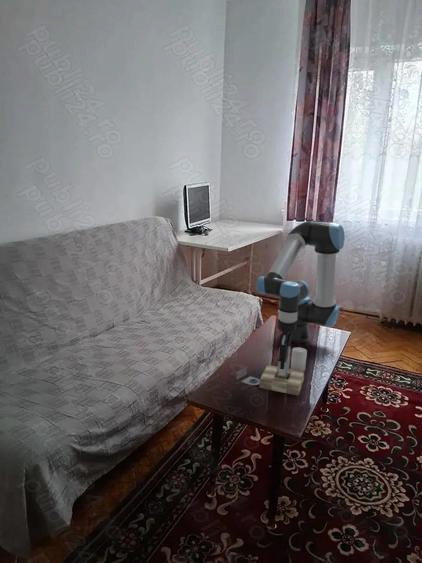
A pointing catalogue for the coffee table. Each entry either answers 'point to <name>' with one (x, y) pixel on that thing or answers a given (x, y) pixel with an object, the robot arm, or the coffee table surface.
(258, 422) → the coffee table surface
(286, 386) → the socket block
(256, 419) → the coffee table surface
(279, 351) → the grey long block
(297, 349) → the plastic dowel
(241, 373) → the bracket
